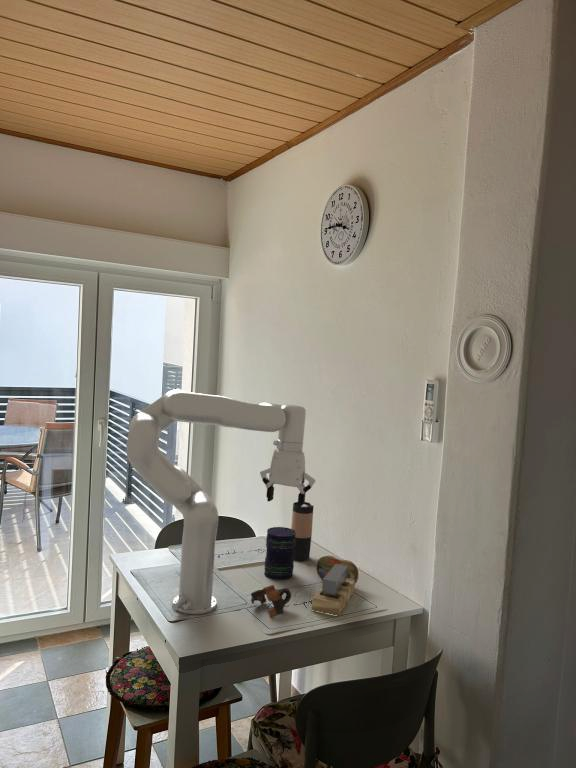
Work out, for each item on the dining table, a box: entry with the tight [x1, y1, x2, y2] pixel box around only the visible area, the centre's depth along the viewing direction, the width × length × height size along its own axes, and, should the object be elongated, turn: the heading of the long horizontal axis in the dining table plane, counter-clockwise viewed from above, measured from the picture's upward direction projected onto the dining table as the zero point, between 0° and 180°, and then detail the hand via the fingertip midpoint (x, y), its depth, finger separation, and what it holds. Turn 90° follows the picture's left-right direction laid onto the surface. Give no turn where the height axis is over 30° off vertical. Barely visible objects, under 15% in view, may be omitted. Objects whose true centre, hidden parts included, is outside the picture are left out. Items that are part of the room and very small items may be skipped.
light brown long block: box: [311, 578, 356, 616], centre depth 180 cm, size 20×8×4 cm, turn 160°
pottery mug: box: [250, 584, 292, 619], centre depth 171 cm, size 12×10×8 cm
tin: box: [316, 555, 359, 584], centre depth 194 cm, size 15×3×8 cm, turn 54°
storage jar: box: [263, 526, 296, 581], centre depth 197 cm, size 10×10×15 cm
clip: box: [321, 564, 348, 599], centre depth 179 cm, size 14×4×9 cm, turn 160°
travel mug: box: [290, 501, 314, 562], centre depth 215 cm, size 8×8×20 cm
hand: (285, 503), depth 176 cm, fingers open, 9 cm apart
